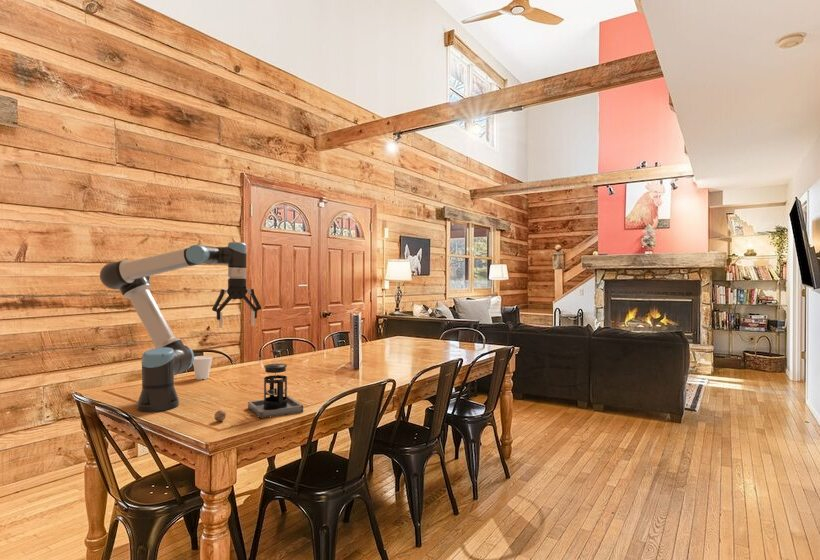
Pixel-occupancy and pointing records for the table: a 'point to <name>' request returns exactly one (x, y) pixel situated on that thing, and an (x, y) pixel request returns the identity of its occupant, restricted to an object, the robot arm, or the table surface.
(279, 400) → the french press
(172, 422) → the table surface
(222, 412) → the wooden ball
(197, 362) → the cup
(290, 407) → the tray
